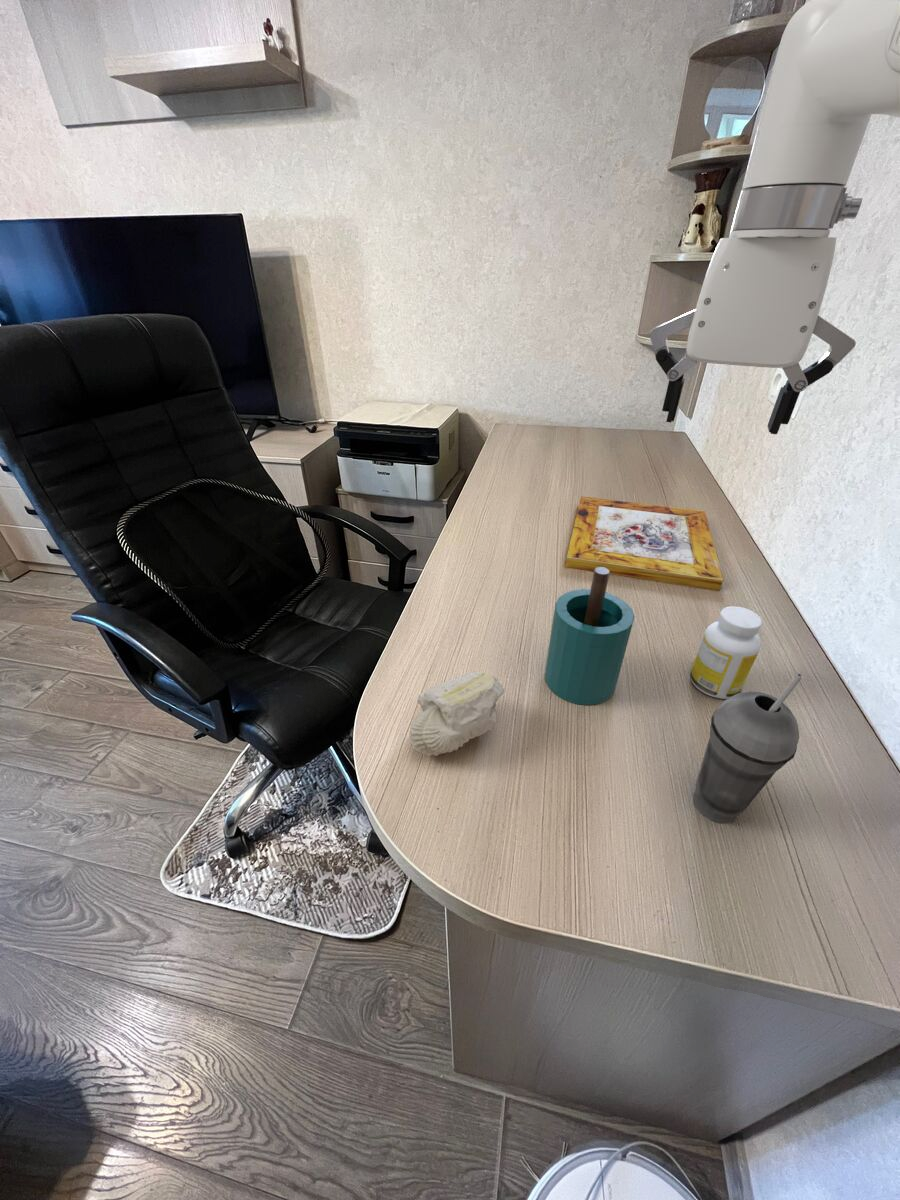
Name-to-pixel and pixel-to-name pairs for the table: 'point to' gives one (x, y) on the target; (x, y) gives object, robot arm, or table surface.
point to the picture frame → (644, 543)
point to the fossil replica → (455, 713)
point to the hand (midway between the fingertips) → (719, 424)
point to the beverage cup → (744, 752)
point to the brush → (596, 596)
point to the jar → (587, 648)
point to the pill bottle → (727, 653)
